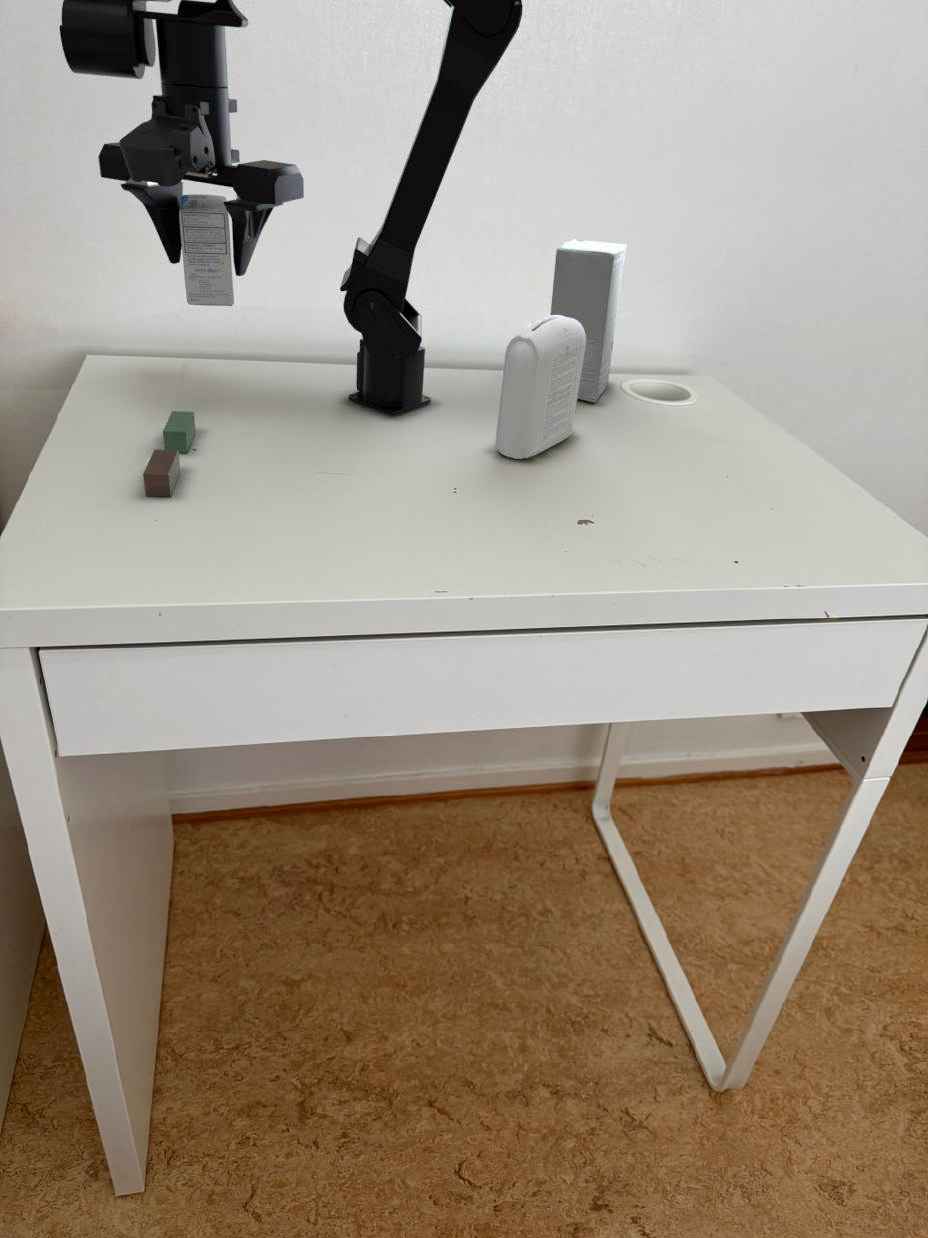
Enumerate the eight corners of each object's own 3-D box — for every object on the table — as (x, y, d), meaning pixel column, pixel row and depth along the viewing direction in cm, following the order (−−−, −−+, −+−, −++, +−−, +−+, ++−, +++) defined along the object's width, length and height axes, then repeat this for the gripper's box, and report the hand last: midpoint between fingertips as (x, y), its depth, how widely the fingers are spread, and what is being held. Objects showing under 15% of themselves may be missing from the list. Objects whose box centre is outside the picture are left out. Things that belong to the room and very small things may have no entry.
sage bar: (187, 453, 82) (185, 431, 81) (164, 452, 82) (162, 430, 81) (195, 431, 86) (194, 411, 85) (173, 430, 86) (171, 410, 85)
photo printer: (541, 424, 95) (557, 303, 89) (577, 436, 93) (596, 313, 87) (487, 452, 88) (501, 322, 81) (525, 465, 86) (542, 333, 79)
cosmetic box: (596, 404, 102) (621, 255, 93) (534, 393, 103) (554, 245, 95) (610, 383, 109) (634, 242, 100) (552, 372, 110) (571, 233, 102)
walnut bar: (170, 497, 74) (168, 474, 73) (145, 496, 74) (142, 473, 73) (180, 471, 79) (178, 449, 77) (156, 470, 78) (154, 448, 77)
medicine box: (234, 307, 88) (229, 210, 83) (186, 306, 87) (178, 207, 82) (231, 286, 94) (226, 194, 89) (186, 285, 93) (179, 192, 88)
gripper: (42, 73, 76) (71, 268, 85) (235, 99, 72) (244, 302, 80) (129, 72, 85) (146, 249, 94) (305, 95, 80) (307, 278, 89)
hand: (207, 268), depth 89 cm, fingers closed on medicine box, 7 cm apart
